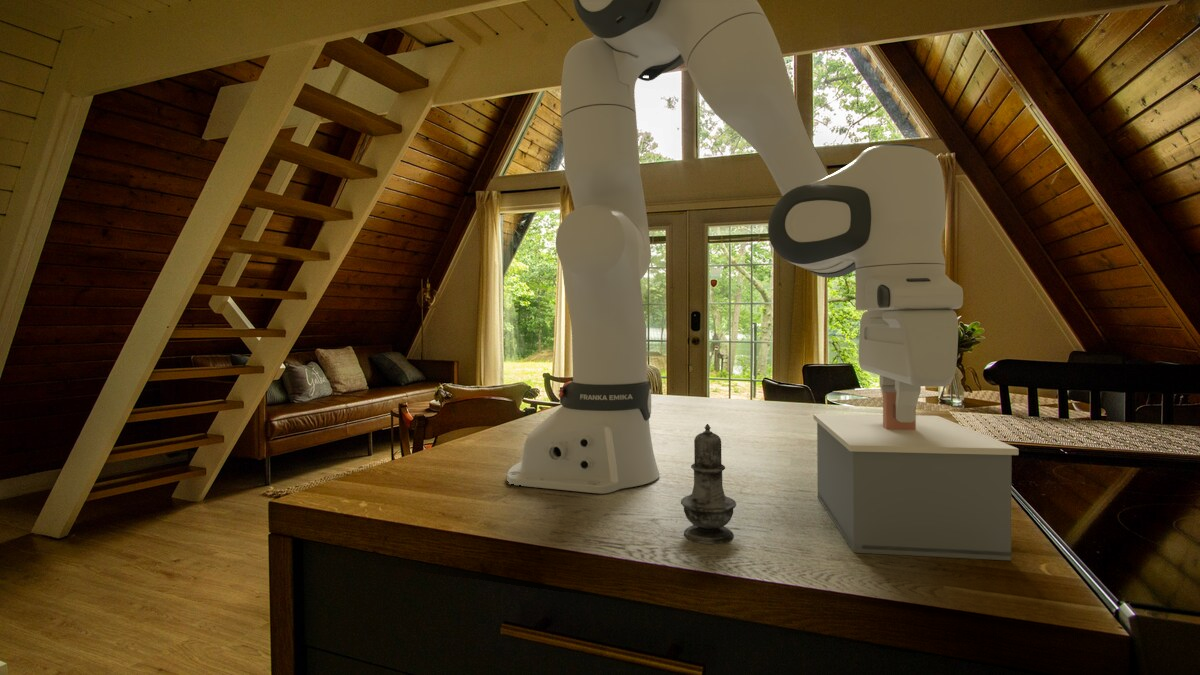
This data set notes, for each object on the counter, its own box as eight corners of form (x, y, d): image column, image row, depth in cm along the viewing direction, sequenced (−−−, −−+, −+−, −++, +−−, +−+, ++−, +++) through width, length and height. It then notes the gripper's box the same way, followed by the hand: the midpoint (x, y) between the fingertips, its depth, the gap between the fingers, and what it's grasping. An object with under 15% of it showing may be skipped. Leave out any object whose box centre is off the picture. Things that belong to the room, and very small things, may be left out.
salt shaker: (725, 549, 58) (724, 430, 58) (672, 538, 62) (670, 426, 61) (744, 531, 63) (743, 421, 63) (693, 521, 67) (692, 417, 66)
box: (853, 552, 57) (853, 451, 57) (817, 497, 75) (817, 420, 75) (1011, 560, 55) (1011, 455, 54) (935, 501, 72) (935, 421, 72)
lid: (850, 451, 56) (849, 404, 56) (813, 418, 75) (813, 383, 75) (1018, 455, 54) (1018, 405, 54) (937, 420, 72) (937, 383, 72)
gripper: (845, 298, 75) (845, 404, 75) (898, 290, 55) (898, 436, 55) (898, 297, 74) (898, 405, 74) (972, 288, 54) (971, 437, 54)
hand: (898, 418), depth 64 cm, fingers closed
